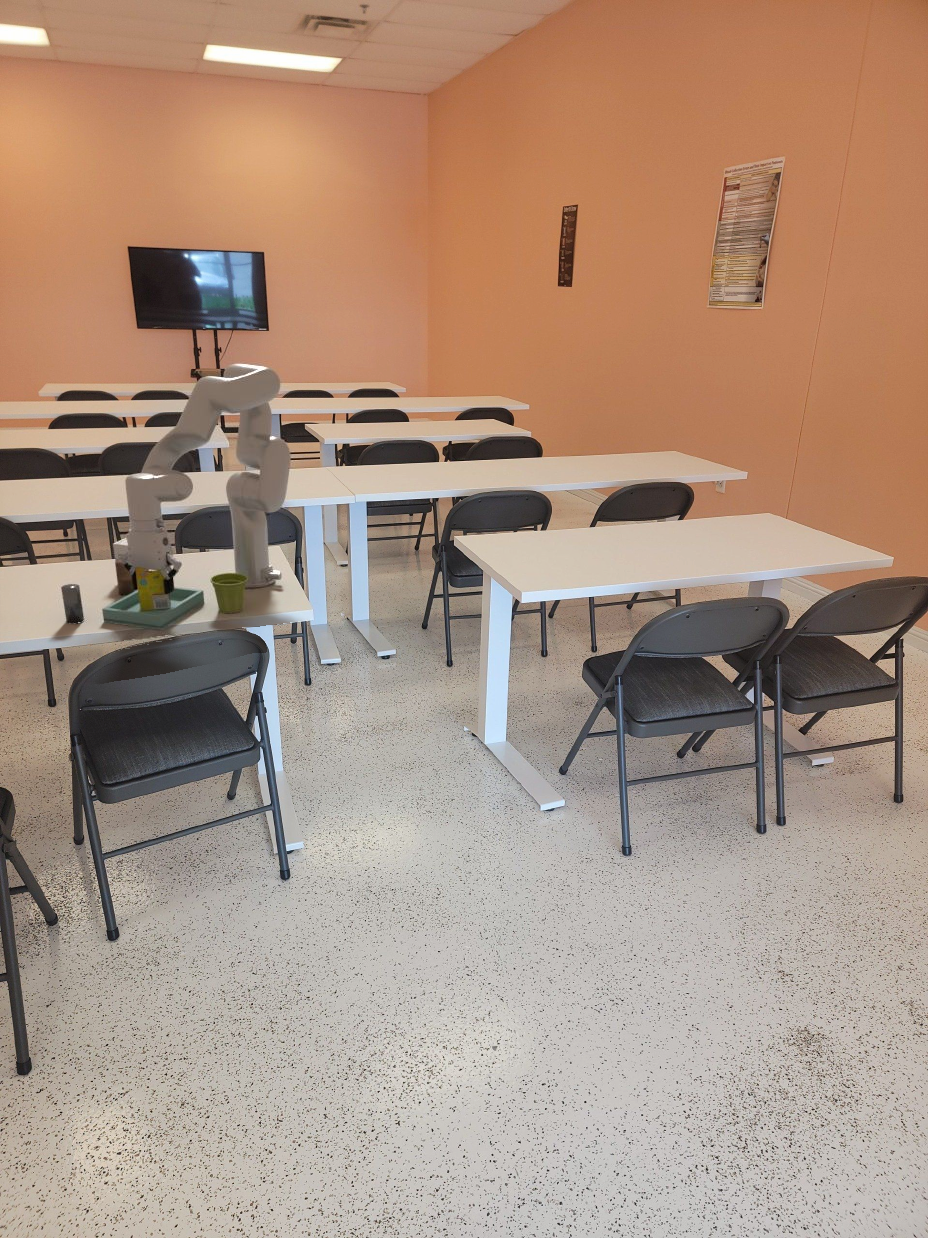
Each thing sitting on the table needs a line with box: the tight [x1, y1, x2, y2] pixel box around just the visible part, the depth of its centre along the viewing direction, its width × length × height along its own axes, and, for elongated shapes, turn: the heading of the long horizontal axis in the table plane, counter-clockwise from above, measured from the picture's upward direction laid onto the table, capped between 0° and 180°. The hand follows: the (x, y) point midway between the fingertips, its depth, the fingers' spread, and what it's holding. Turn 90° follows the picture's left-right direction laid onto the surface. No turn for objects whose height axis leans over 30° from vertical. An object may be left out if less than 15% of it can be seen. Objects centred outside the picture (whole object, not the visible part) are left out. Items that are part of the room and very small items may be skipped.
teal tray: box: [101, 586, 205, 631], centre depth 205 cm, size 16×20×4 cm
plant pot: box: [209, 572, 248, 614], centre depth 208 cm, size 9×9×9 cm
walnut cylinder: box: [114, 560, 136, 597], centre depth 216 cm, size 4×4×9 cm
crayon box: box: [135, 567, 171, 611], centre depth 203 cm, size 7×3×12 cm, turn 108°
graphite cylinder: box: [60, 583, 85, 624], centre depth 197 cm, size 4×4×9 cm
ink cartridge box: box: [112, 532, 150, 571], centre depth 225 cm, size 9×5×15 cm, turn 168°
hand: (153, 590), depth 204 cm, fingers open, 8 cm apart
